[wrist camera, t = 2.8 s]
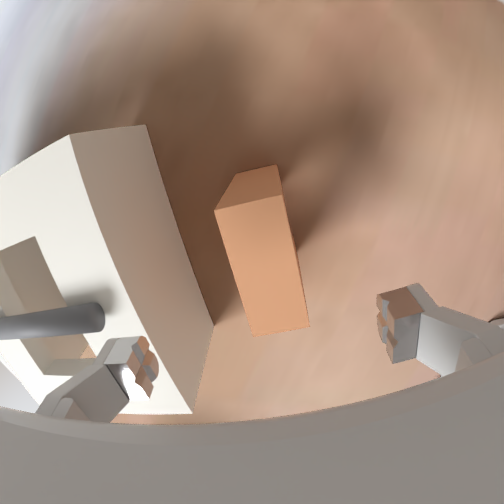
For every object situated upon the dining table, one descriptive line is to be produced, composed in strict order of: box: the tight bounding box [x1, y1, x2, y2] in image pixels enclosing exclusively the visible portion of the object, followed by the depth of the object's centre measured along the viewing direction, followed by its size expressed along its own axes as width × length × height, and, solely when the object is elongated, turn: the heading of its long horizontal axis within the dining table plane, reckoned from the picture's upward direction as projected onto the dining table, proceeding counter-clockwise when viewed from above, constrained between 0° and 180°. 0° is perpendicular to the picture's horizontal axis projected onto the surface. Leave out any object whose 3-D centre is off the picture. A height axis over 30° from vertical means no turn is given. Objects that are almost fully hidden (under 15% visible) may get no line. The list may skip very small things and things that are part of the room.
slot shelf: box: [0, 125, 214, 414], centre depth 20 cm, size 16×18×12 cm
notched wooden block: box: [214, 164, 310, 337], centre depth 19 cm, size 3×7×10 cm, turn 14°
